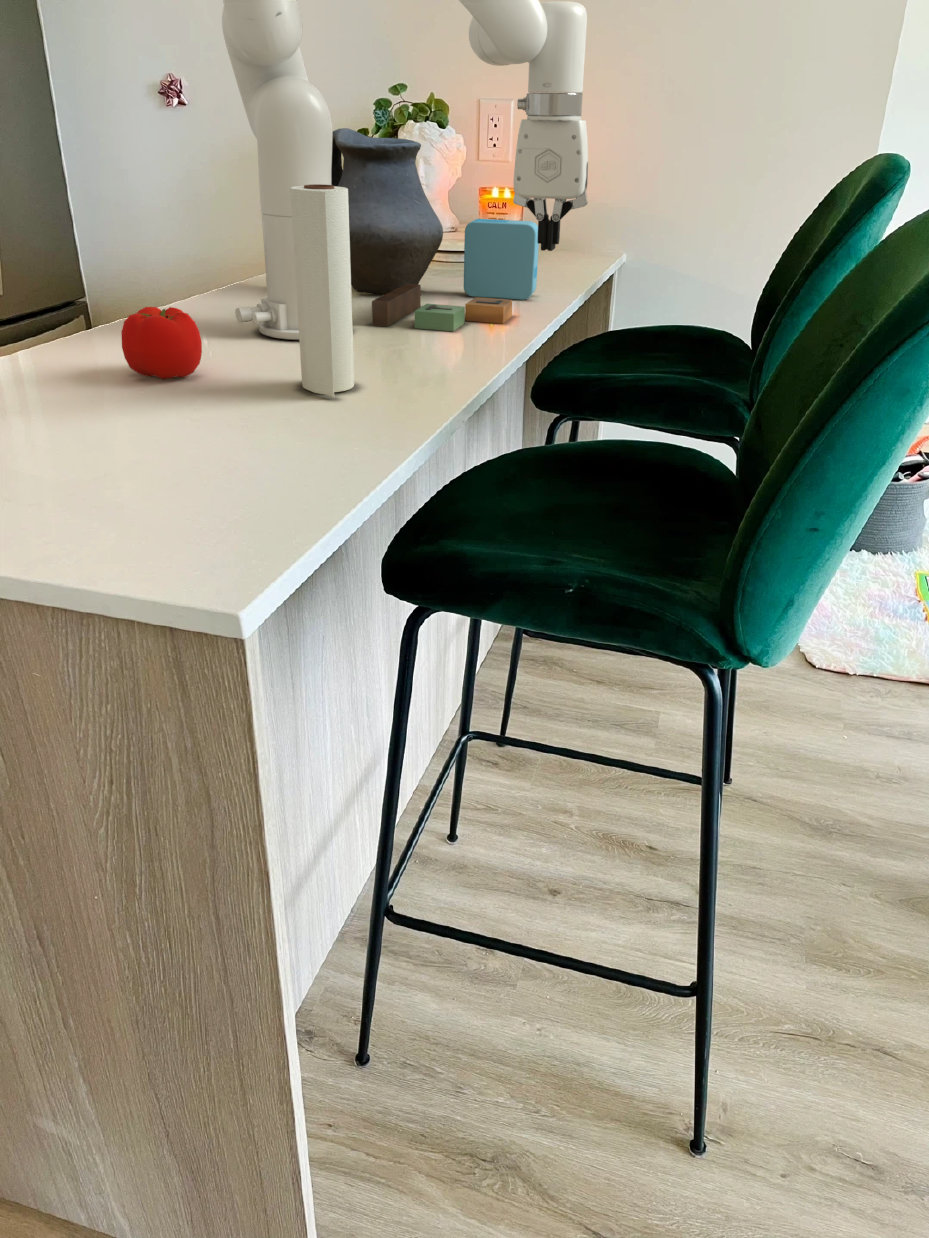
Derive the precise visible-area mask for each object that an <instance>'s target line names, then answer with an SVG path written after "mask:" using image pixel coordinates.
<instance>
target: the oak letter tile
mask: <svg viewBox="0 0 929 1238" xmlns="http://www.w3.org/2000/svg"><path fill="white" fill-rule="evenodd" d="M513 301H514V299H501V298H485V297H473V298H471V300H469V301H468V302H466V303H465V305H464V307H465V321H466V322H476V323H487V324H488V323H490V324H504V323H506V322H507V321H509V319H511V317H512V316H513ZM465 321H464V322H465Z"/></svg>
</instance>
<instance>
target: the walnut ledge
mask: <svg viewBox="0 0 929 1238" xmlns="http://www.w3.org/2000/svg"><path fill="white" fill-rule="evenodd" d="M421 287H422V286H421V284H420V283H419V284H405V285H403V286H401V287H399V288H397V289H395V290H393V291H391V292H389V293H387V294H385V295H380V296H379V297H377V298H375V299H373V300H371V319H372V326H373V327H374V326H375V327H389V326H391V325H394V324H395V323H396V322H398V321H400V320H401V319H403V318H405V317H407V316H408V315H411V314H412V313H413V312H415V310H417V309H419V308H420V307H422V305H421V303H422V302H421V301H422V300H421V298H422V296H421V293H422V291H421V289H422V288H421Z"/></svg>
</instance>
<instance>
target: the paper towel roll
mask: <svg viewBox="0 0 929 1238" xmlns="http://www.w3.org/2000/svg"><path fill="white" fill-rule="evenodd" d="M290 190H291V206H292V223H293V240H294V257H295V274H296V290H297V307H298V324H299V340H298V341H299V356H300V374H301V375H300V376H301V385H302V388H303V389H305V390H307V391H310V392H312V393H314V394H319V395H325V396H329V397H332V398H335V397H336V396H335V393H339V392H345V391H348V390H351V389H352V388H353V387H354V386H355V366H354V365H355V364H354V363H355V361H354V336H353V335H354V333H353V331H354V330H353V301H352V298H353V297H352V285H351V267H350V236H349V205H348V189H347V188H345V187H336V186H333V185H321V184H312V185H304V186H295V187H291V188H290Z"/></svg>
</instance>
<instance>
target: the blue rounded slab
mask: <svg viewBox="0 0 929 1238" xmlns="http://www.w3.org/2000/svg"><path fill="white" fill-rule="evenodd" d="M463 248H464V249H463V290H464V292H465V294H466V295H468V296H469V297H472V298H475V297H480V298H493V299H507V300H516V301H517V300H518V301H526V300H528V299H529V298H531V297H532V295H533V294H534V293H535V292H536V289H537V282H538V266H539V265H538V264H539V250H540V244H538V223H536V222H534V221H530V220H512V219H511V220H510V219H492V218H490V219H489V218H476V219H474V220H472V221H470V222H468V223H467V225H466V226H465V228H464V247H463Z"/></svg>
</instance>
